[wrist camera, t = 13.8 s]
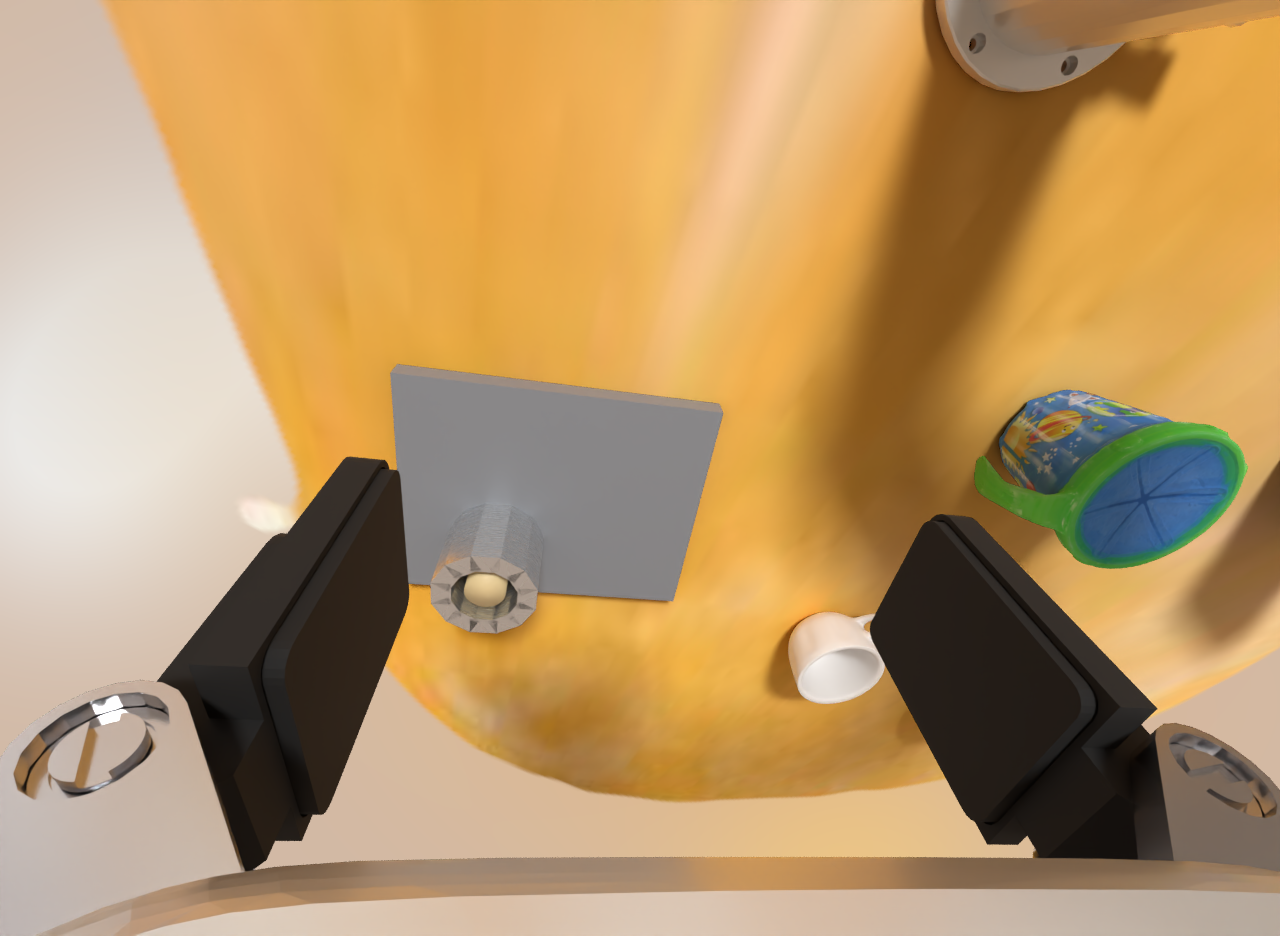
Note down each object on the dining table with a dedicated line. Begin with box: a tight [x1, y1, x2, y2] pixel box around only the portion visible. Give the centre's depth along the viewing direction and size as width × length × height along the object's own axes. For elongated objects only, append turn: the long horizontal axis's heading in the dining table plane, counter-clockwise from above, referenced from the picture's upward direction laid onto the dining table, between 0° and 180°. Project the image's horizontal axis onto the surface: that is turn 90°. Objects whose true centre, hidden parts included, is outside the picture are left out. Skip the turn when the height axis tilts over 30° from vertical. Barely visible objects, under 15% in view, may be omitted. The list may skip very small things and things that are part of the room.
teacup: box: [788, 612, 885, 704], centre depth 50 cm, size 10×8×5 cm
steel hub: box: [430, 503, 544, 633], centre depth 40 cm, size 7×7×6 cm
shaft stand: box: [391, 364, 723, 607], centre depth 39 cm, size 22×18×7 cm
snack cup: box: [974, 390, 1248, 569], centre depth 39 cm, size 16×10×10 cm
